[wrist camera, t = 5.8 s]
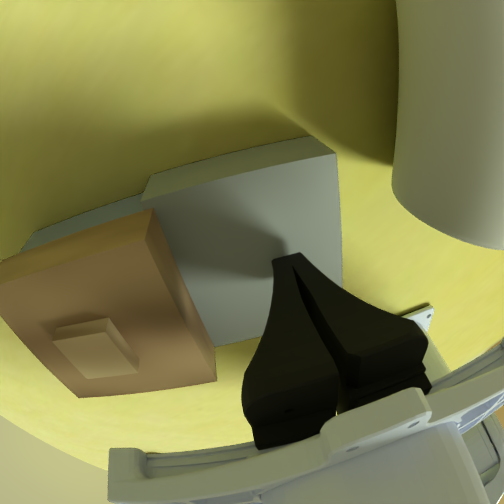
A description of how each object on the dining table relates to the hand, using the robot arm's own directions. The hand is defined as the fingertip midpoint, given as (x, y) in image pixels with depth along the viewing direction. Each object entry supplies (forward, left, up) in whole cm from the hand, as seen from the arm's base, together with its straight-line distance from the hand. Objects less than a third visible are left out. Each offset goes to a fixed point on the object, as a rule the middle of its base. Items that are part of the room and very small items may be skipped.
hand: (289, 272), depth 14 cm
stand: (0, +1, -4) cm, 4 cm away
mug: (+13, -12, 0) cm, 18 cm away
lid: (0, +9, -1) cm, 9 cm away
